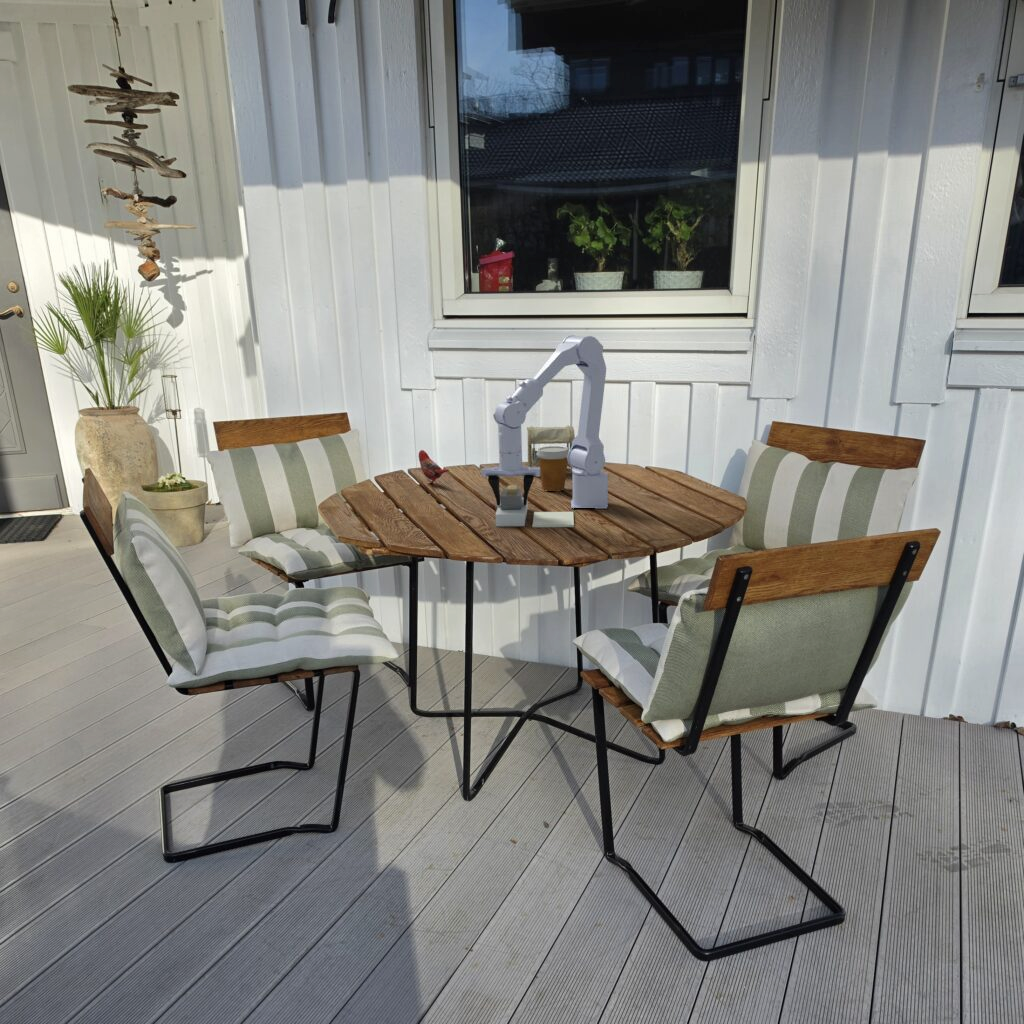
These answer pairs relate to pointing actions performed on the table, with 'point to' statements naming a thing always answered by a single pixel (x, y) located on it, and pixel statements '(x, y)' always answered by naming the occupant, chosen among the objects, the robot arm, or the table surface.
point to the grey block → (511, 498)
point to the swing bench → (548, 440)
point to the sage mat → (553, 519)
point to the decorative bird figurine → (430, 467)
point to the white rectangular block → (511, 516)
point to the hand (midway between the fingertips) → (511, 504)
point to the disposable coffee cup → (553, 467)
